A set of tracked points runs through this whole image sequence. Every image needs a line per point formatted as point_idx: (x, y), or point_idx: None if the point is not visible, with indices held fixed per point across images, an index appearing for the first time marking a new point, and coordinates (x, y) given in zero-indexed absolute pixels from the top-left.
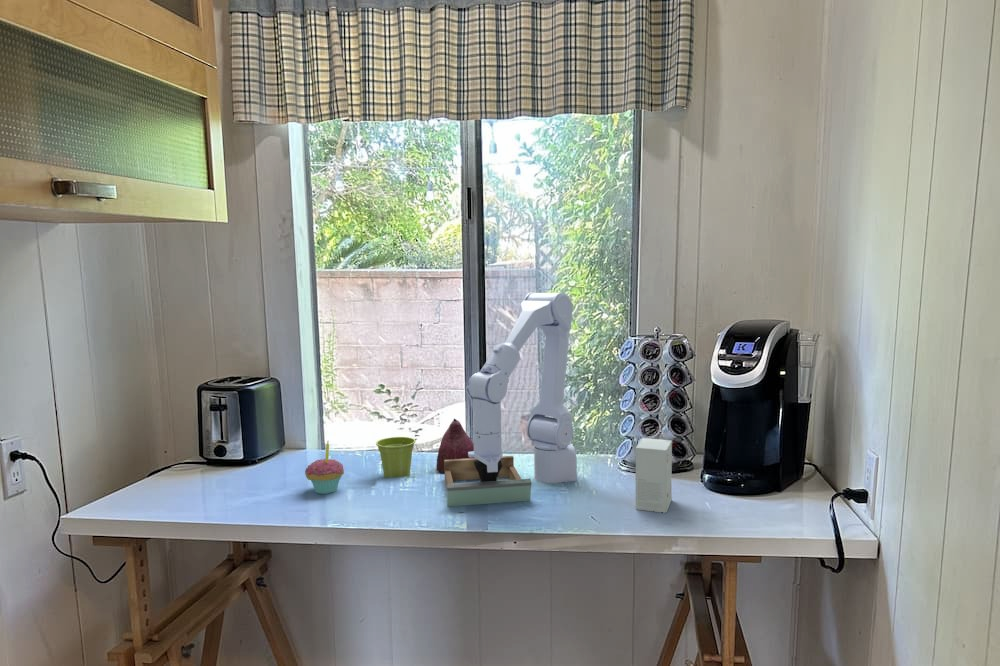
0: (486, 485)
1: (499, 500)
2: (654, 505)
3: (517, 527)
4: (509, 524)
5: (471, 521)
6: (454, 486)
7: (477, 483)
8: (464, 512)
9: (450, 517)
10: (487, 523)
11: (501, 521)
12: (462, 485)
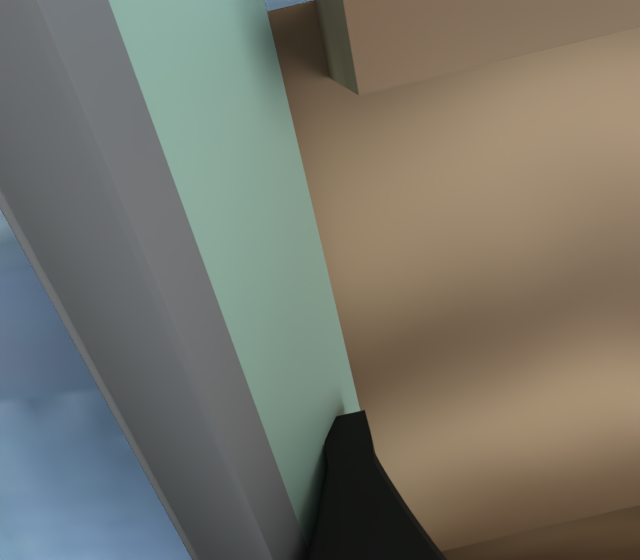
0: None
1: None
2: None
3: (12, 557)
4: (49, 516)
5: (28, 275)
6: (3, 167)
7: (234, 536)
8: None
9: None
10: (23, 395)
11: (90, 470)
12: (105, 331)
